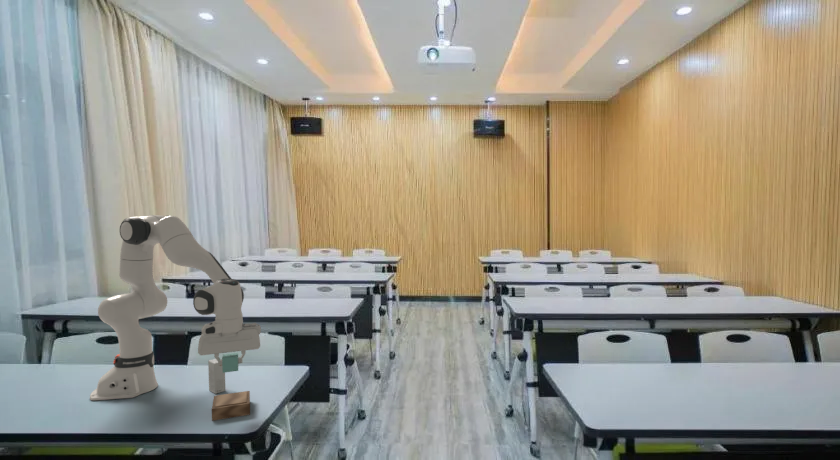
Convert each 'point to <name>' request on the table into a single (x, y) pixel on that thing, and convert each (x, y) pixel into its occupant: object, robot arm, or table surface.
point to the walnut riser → (231, 405)
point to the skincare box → (216, 377)
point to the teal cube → (230, 362)
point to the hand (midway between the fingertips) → (230, 364)
